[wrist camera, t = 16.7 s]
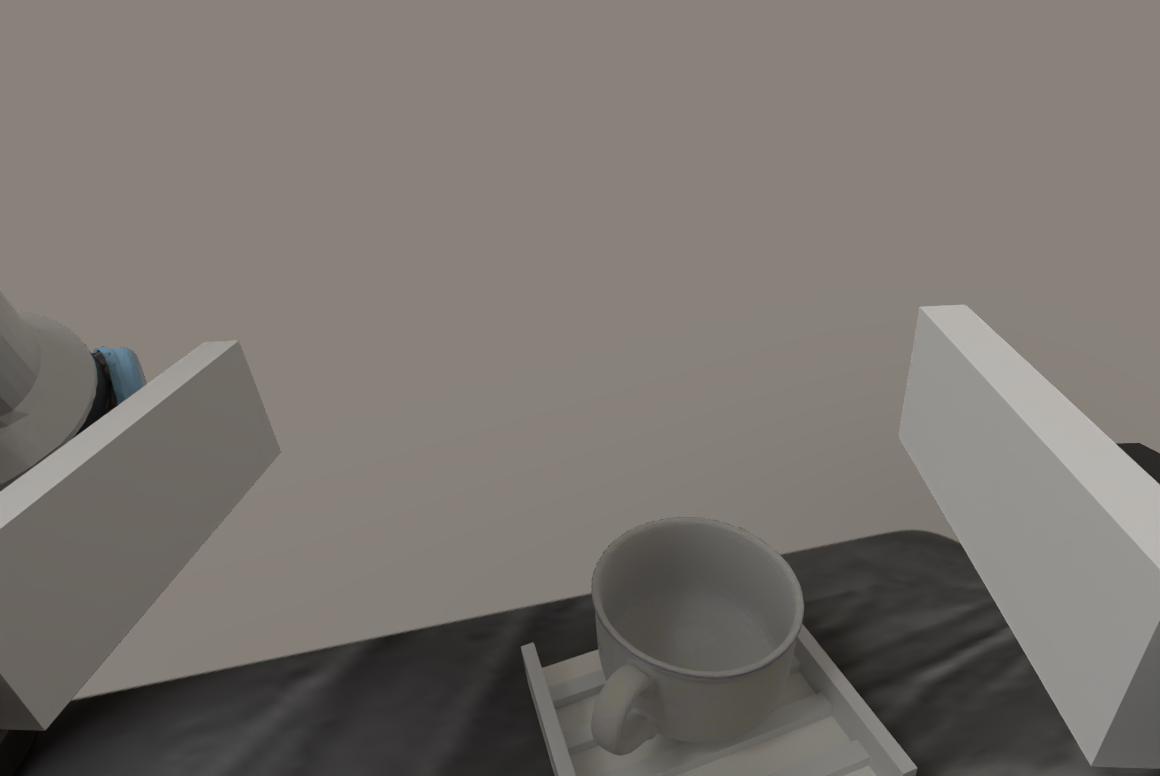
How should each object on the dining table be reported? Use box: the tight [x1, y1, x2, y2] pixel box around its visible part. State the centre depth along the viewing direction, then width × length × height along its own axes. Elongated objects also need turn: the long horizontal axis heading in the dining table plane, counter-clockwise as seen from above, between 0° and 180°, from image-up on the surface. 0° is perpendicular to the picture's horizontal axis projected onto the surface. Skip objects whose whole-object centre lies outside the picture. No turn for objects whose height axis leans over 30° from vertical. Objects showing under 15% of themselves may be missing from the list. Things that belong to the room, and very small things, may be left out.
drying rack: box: [521, 624, 917, 776], centre depth 36 cm, size 16×14×4 cm
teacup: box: [591, 517, 804, 756], centre depth 35 cm, size 14×11×8 cm
